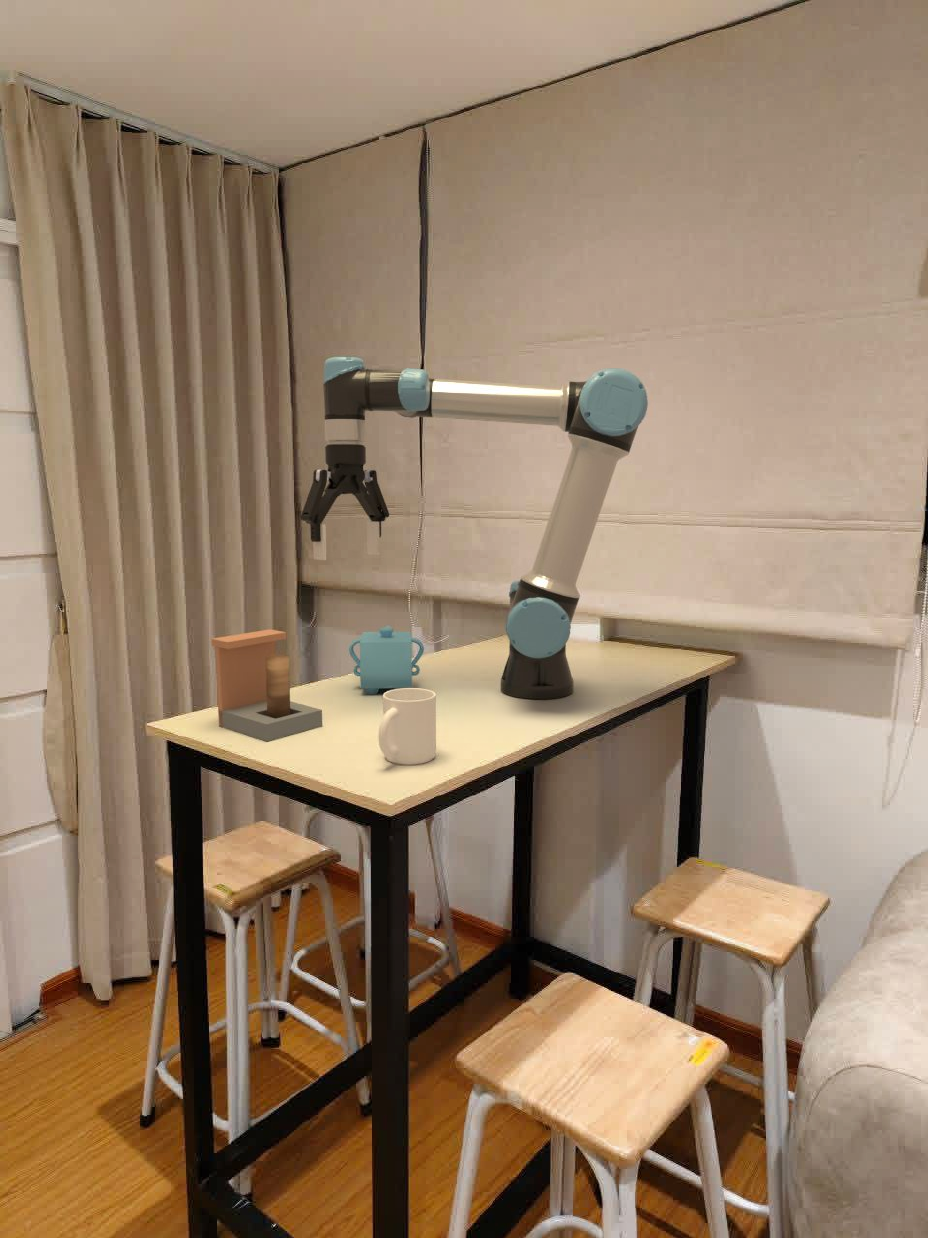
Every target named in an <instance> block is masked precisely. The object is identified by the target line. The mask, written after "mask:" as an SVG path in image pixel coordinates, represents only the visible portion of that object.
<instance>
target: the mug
mask: <svg viewBox="0 0 928 1238" xmlns="http://www.w3.org/2000/svg"><path fill="white" fill-rule="evenodd" d="M382 712H383V713H382V714H383V716H382V717H381V720H380V722H379V723H380V724H379V728H378V745H379V748H380V751H381V752H382V754H383V755H384V758H385V759H386V760H387V761H388V762H390V763H393V764H396V765H401V766H402V765H403V766H413V765H421V764H426V763H428V762H431V761H432V760H433V759H435V757H436V753H437V752H436V751H437V695H436V692H435V691H433V690H430V689H426V688H420V687H419V688H417V687H415V688H414V687H412V688H401V689H395V688H393V689H390V690H387V691H386V692H384V693H383V695H382Z"/></svg>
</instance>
